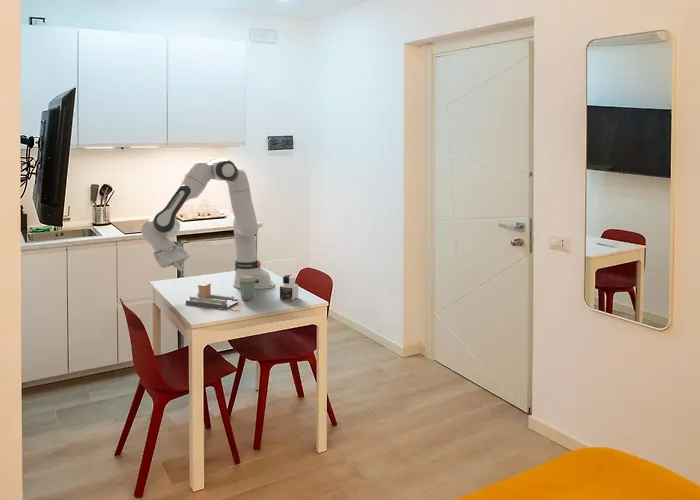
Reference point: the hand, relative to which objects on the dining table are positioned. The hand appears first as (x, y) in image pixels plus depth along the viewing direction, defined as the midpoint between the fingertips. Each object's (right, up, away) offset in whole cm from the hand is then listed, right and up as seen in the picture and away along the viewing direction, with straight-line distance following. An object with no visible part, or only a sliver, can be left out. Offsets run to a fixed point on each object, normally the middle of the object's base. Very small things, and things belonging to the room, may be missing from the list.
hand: (182, 269), depth 310 cm
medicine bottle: (+52, -15, +9) cm, 55 cm away
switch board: (+15, -17, -2) cm, 23 cm away
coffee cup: (+31, -15, +6) cm, 35 cm away
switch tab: (+11, -14, -1) cm, 18 cm away
